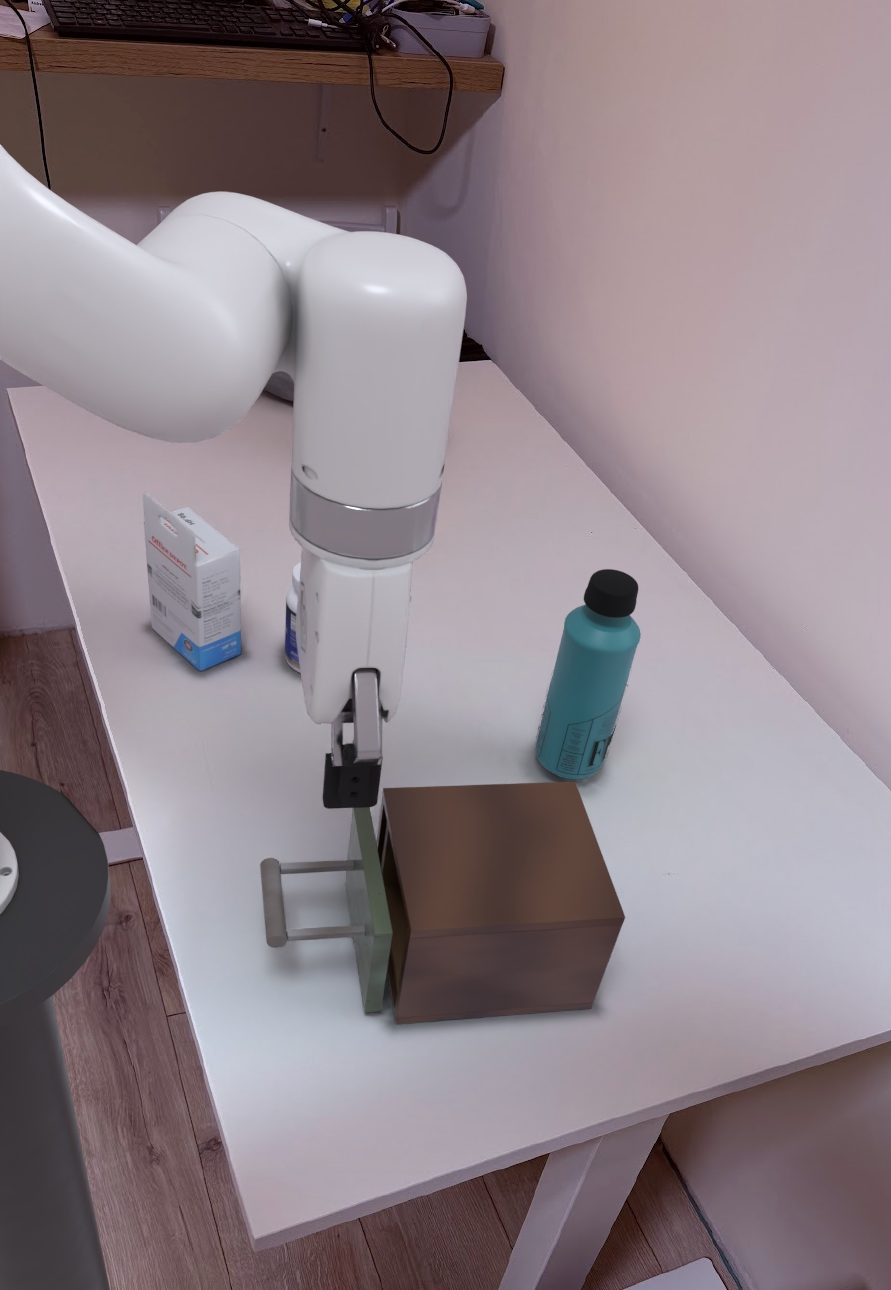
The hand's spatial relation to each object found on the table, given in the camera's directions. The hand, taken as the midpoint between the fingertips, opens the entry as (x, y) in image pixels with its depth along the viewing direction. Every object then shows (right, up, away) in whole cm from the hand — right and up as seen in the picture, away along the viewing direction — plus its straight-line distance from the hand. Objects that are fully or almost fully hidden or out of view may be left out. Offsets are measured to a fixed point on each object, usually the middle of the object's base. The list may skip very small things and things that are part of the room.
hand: (342, 758), depth 69 cm
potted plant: (-12, +50, +78) cm, 93 cm away
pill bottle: (-6, +10, +38) cm, 40 cm away
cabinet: (+9, -14, +16) cm, 23 cm away
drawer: (+3, -13, +14) cm, 20 cm away
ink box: (-18, +12, +38) cm, 44 cm away
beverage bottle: (+17, 0, +32) cm, 36 cm away
